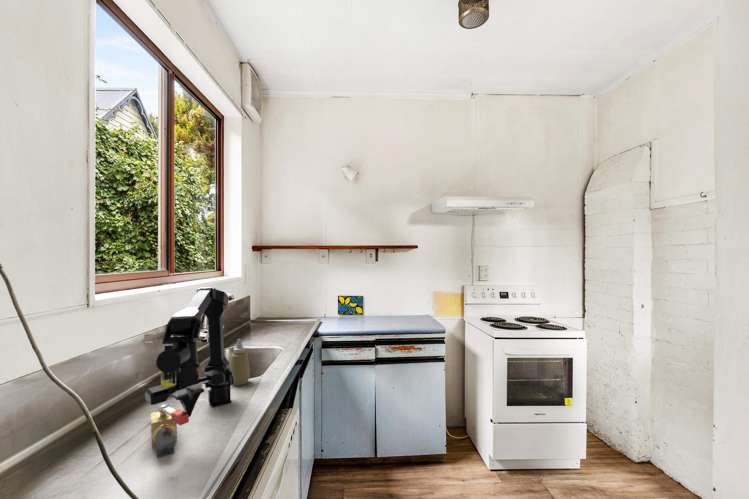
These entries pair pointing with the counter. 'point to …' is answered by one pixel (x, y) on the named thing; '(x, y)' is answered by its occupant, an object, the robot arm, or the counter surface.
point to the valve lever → (174, 413)
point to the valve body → (163, 433)
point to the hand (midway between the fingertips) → (188, 416)
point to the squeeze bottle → (240, 364)
